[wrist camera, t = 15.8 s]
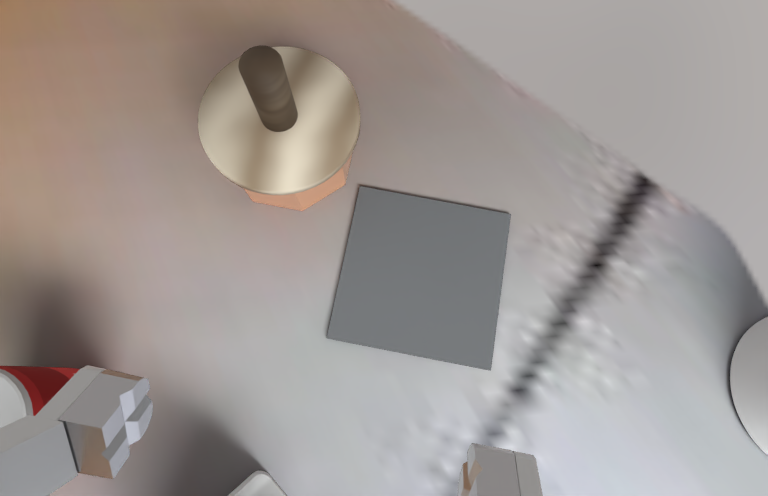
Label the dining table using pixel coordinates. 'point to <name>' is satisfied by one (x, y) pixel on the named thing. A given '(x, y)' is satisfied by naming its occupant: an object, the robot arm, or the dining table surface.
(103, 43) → the dining table surface
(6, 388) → the canned food
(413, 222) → the mat
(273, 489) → the grey open bin
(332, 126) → the lid
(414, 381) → the dining table surface
